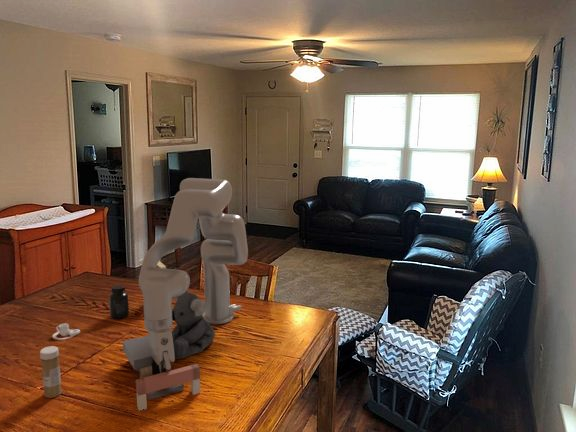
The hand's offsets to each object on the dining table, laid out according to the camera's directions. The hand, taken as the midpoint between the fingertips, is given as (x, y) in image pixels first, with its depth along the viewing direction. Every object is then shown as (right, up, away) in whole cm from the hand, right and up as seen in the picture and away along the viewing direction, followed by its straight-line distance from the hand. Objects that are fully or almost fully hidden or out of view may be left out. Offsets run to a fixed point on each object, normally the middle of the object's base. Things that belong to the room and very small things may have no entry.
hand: (161, 379), depth 138 cm
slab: (-7, +4, +10) cm, 13 cm away
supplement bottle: (-29, +8, +48) cm, 57 cm away
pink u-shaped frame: (+4, -4, -6) cm, 8 cm away
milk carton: (-17, +10, +60) cm, 63 cm away
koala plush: (+3, +3, +26) cm, 26 cm away
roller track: (-4, -1, +7) cm, 9 cm away
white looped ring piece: (-41, +4, +30) cm, 51 cm away
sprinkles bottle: (-29, -3, -4) cm, 30 cm away
